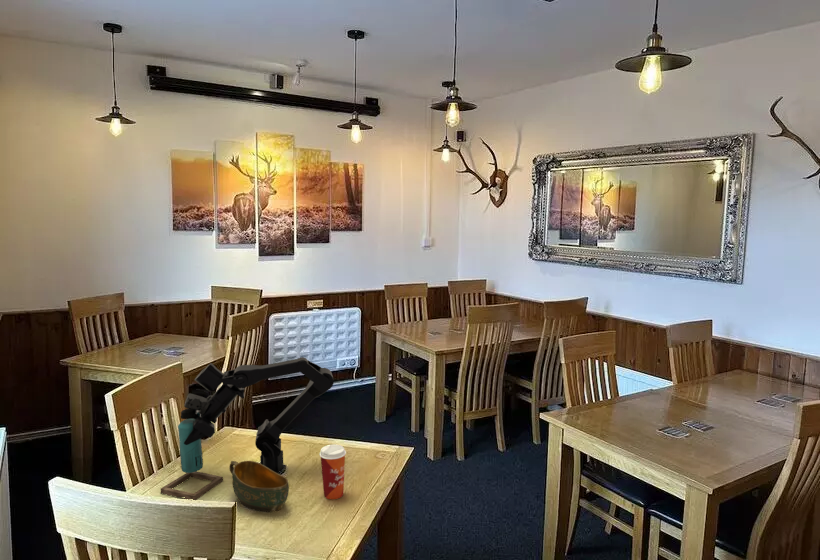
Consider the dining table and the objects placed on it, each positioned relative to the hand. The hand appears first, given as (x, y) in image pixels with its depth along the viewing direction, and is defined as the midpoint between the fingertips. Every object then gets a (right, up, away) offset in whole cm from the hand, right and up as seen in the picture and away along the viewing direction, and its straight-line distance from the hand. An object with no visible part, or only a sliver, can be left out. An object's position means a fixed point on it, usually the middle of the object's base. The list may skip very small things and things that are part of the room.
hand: (185, 440), depth 168 cm
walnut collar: (+3, -14, -2) cm, 14 cm away
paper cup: (+46, -14, -7) cm, 49 cm away
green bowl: (+26, -15, -11) cm, 31 cm away
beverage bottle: (+2, -11, +2) cm, 11 cm away
